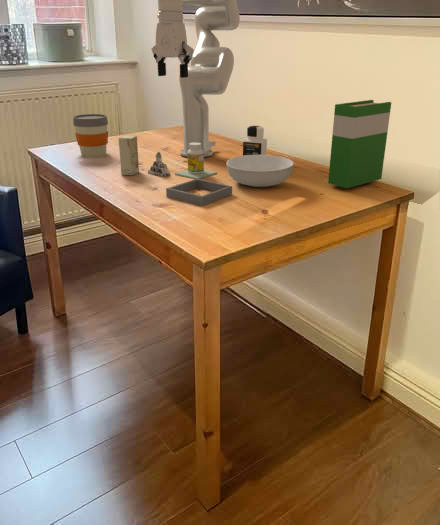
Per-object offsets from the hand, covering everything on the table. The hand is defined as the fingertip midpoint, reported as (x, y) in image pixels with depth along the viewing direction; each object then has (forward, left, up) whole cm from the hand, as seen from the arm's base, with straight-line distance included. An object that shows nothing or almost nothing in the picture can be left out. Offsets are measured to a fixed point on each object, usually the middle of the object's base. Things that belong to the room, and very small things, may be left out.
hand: (173, 76), depth 166 cm
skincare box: (+14, -8, -31) cm, 34 cm away
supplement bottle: (+1, +10, -30) cm, 32 cm away
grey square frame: (+19, +27, -30) cm, 45 cm away
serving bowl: (-3, +33, -31) cm, 45 cm away
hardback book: (-25, +55, -31) cm, 68 cm away
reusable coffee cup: (+6, -37, -31) cm, 48 cm away
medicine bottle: (-30, +13, -31) cm, 44 cm away
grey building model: (+6, +1, -31) cm, 32 cm away
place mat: (+1, +10, -30) cm, 32 cm away
